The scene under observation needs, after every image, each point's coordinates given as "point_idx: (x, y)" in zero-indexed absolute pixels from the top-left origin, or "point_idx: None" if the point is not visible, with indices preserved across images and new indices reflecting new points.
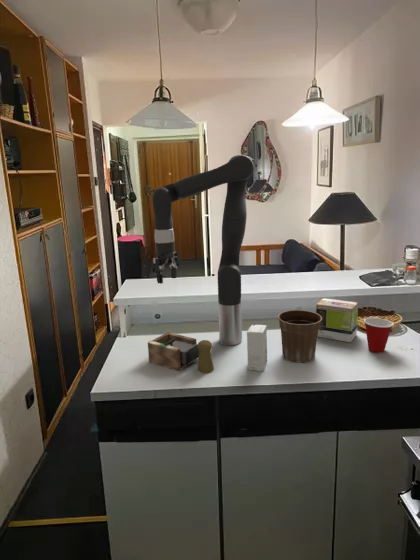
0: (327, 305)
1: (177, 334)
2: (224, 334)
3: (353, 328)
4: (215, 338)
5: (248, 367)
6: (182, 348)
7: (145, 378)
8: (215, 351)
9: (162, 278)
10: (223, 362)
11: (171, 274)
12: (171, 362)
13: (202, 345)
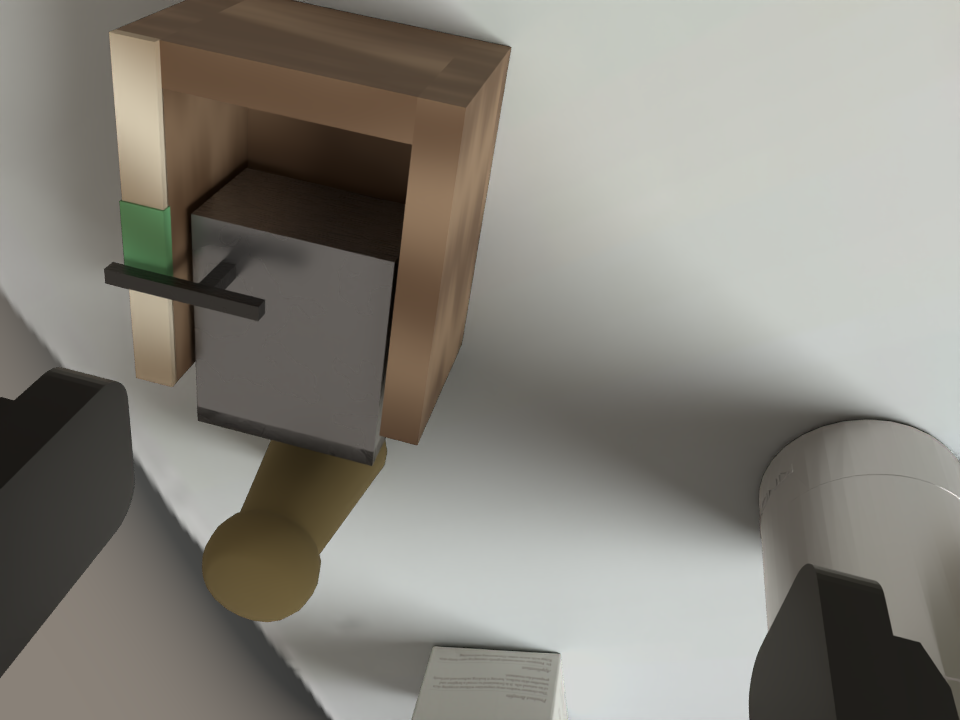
0: None
1: (444, 245)
2: (767, 541)
3: None
4: (908, 371)
5: (429, 658)
6: (245, 370)
7: (12, 107)
8: (623, 434)
9: (28, 624)
10: (469, 516)
11: (820, 666)
12: None
13: (205, 580)
